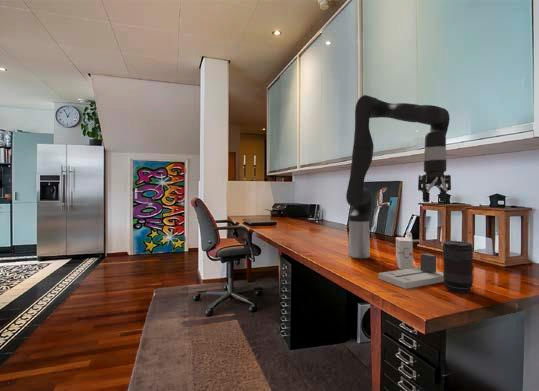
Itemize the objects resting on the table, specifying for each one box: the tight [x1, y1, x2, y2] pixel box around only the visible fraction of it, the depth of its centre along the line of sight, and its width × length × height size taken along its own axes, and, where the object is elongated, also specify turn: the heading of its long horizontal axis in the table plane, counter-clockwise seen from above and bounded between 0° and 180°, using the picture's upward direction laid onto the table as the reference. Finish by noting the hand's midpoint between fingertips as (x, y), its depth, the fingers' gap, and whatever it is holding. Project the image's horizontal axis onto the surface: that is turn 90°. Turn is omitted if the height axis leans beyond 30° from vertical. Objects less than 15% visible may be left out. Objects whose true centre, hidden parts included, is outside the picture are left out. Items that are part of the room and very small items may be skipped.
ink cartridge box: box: [395, 230, 414, 270], centre depth 120 cm, size 9×5×15 cm, turn 168°
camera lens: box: [442, 240, 474, 294], centre depth 93 cm, size 8×8×15 cm
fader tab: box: [420, 252, 437, 273], centre depth 106 cm, size 4×3×6 cm
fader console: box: [378, 266, 444, 289], centre depth 104 cm, size 12×21×2 cm, turn 112°
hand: (434, 201), depth 112 cm, fingers open, 8 cm apart
